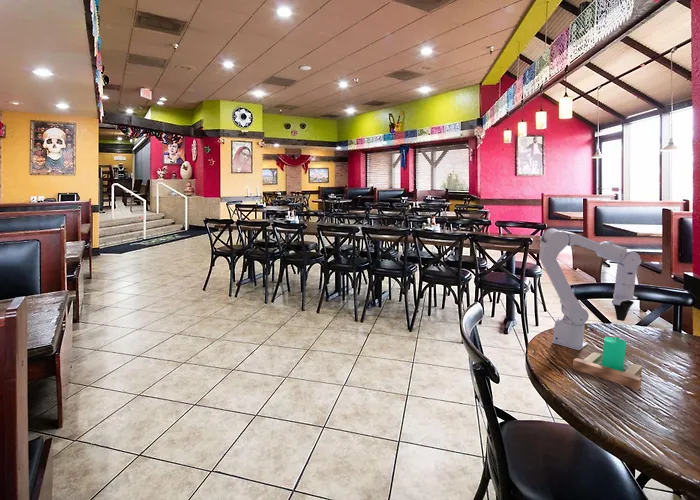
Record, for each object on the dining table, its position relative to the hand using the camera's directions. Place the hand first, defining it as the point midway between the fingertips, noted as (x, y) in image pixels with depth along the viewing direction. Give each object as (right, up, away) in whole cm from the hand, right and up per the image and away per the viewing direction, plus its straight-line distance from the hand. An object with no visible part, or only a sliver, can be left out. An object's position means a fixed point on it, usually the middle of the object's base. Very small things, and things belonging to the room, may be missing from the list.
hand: (620, 320), depth 146 cm
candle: (-14, -14, -16) cm, 25 cm away
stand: (-15, -14, -17) cm, 27 cm away
